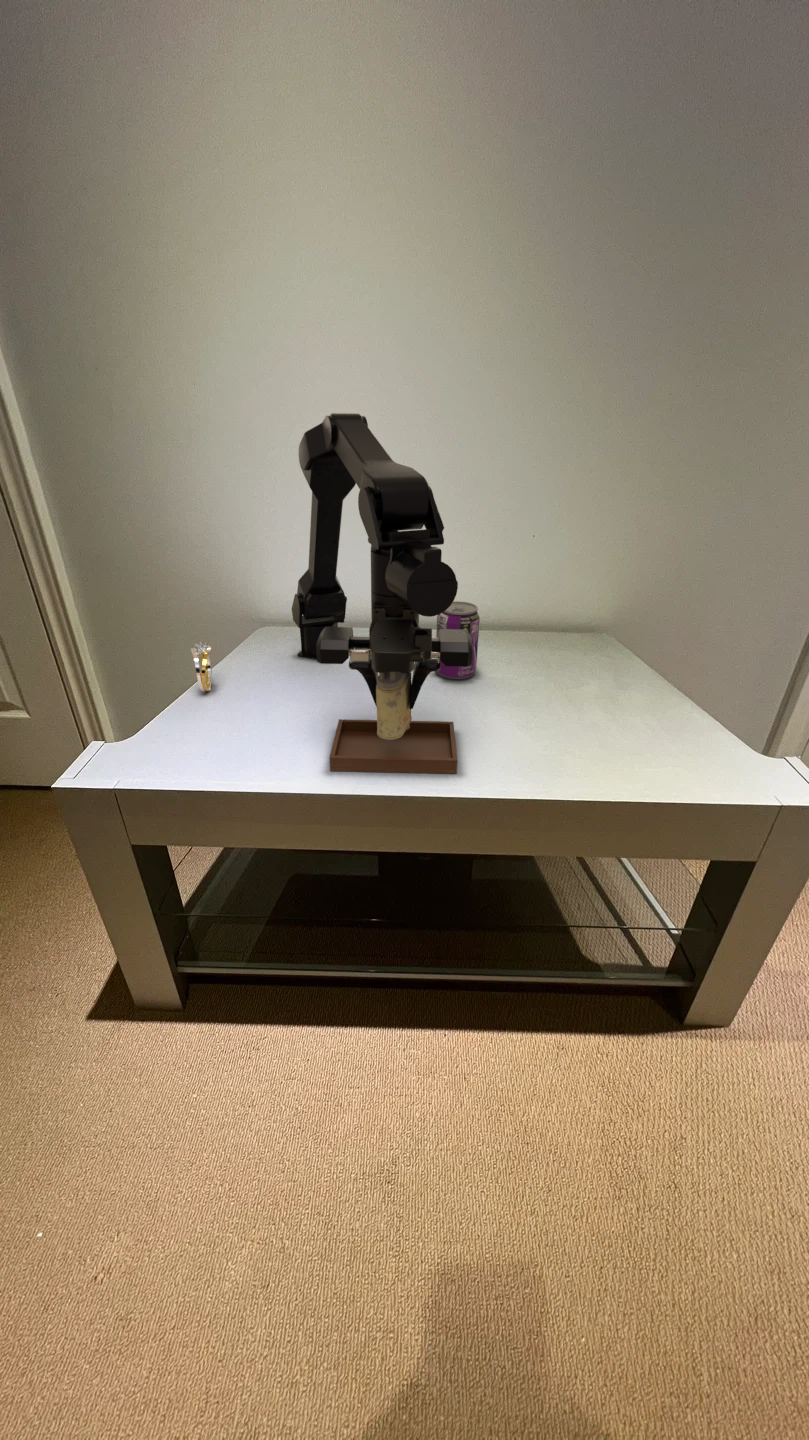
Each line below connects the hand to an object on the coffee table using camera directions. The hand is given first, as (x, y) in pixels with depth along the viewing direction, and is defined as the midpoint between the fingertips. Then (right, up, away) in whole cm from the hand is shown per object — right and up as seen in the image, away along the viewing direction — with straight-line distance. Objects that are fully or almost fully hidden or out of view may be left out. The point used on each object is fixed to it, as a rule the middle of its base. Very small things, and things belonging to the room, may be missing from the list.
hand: (394, 707), depth 77 cm
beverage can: (+10, +6, +26) cm, 29 cm away
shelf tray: (0, -6, +3) cm, 7 cm away
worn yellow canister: (0, -3, +1) cm, 3 cm away
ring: (-31, +3, +19) cm, 36 cm away
